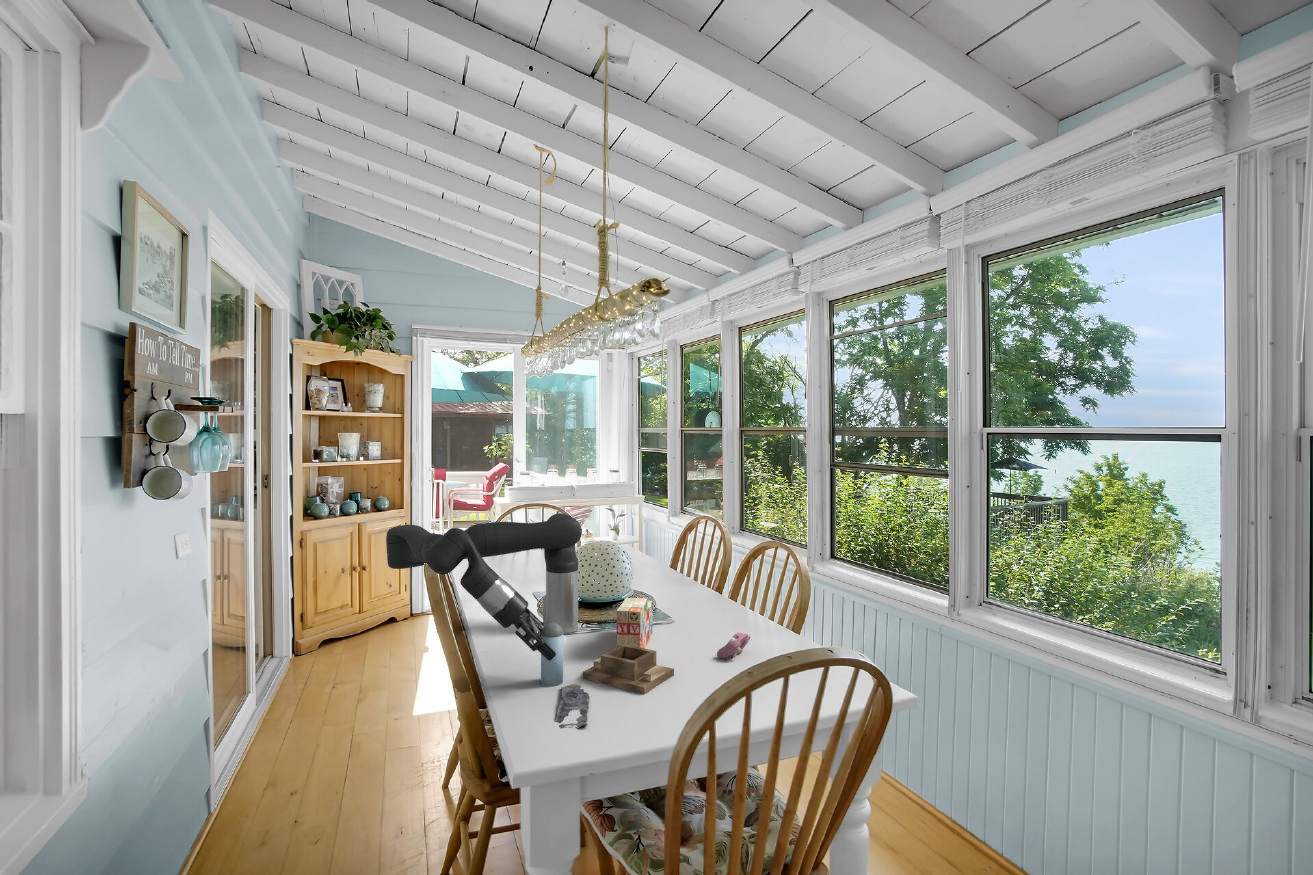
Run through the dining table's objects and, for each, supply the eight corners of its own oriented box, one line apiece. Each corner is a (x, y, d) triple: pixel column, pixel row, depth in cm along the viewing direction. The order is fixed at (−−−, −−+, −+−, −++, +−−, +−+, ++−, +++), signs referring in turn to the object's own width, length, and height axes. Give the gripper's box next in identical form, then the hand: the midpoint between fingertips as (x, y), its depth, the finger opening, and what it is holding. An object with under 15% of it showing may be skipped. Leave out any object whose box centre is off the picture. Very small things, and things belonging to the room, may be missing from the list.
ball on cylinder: (536, 683, 145) (536, 624, 145) (550, 676, 149) (551, 618, 149) (553, 688, 142) (553, 627, 142) (567, 680, 146) (567, 621, 146)
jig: (582, 678, 148) (582, 654, 148) (614, 661, 159) (615, 639, 159) (644, 694, 139) (644, 669, 139) (674, 675, 150) (674, 651, 150)
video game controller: (728, 667, 160) (740, 644, 158) (714, 656, 162) (725, 633, 160) (744, 655, 168) (756, 634, 166) (730, 645, 170) (741, 623, 168)
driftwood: (561, 688, 143) (561, 679, 143) (591, 687, 144) (591, 678, 143) (552, 733, 122) (552, 722, 122) (587, 732, 123) (587, 721, 123)
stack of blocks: (631, 631, 183) (631, 589, 183) (652, 632, 182) (653, 589, 182) (616, 657, 162) (616, 609, 162) (640, 659, 161) (640, 610, 161)
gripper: (493, 605, 150) (542, 652, 152) (486, 623, 136) (540, 674, 138) (516, 582, 151) (565, 629, 153) (512, 598, 137) (565, 649, 139)
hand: (553, 650), depth 145 cm, fingers open, 8 cm apart
